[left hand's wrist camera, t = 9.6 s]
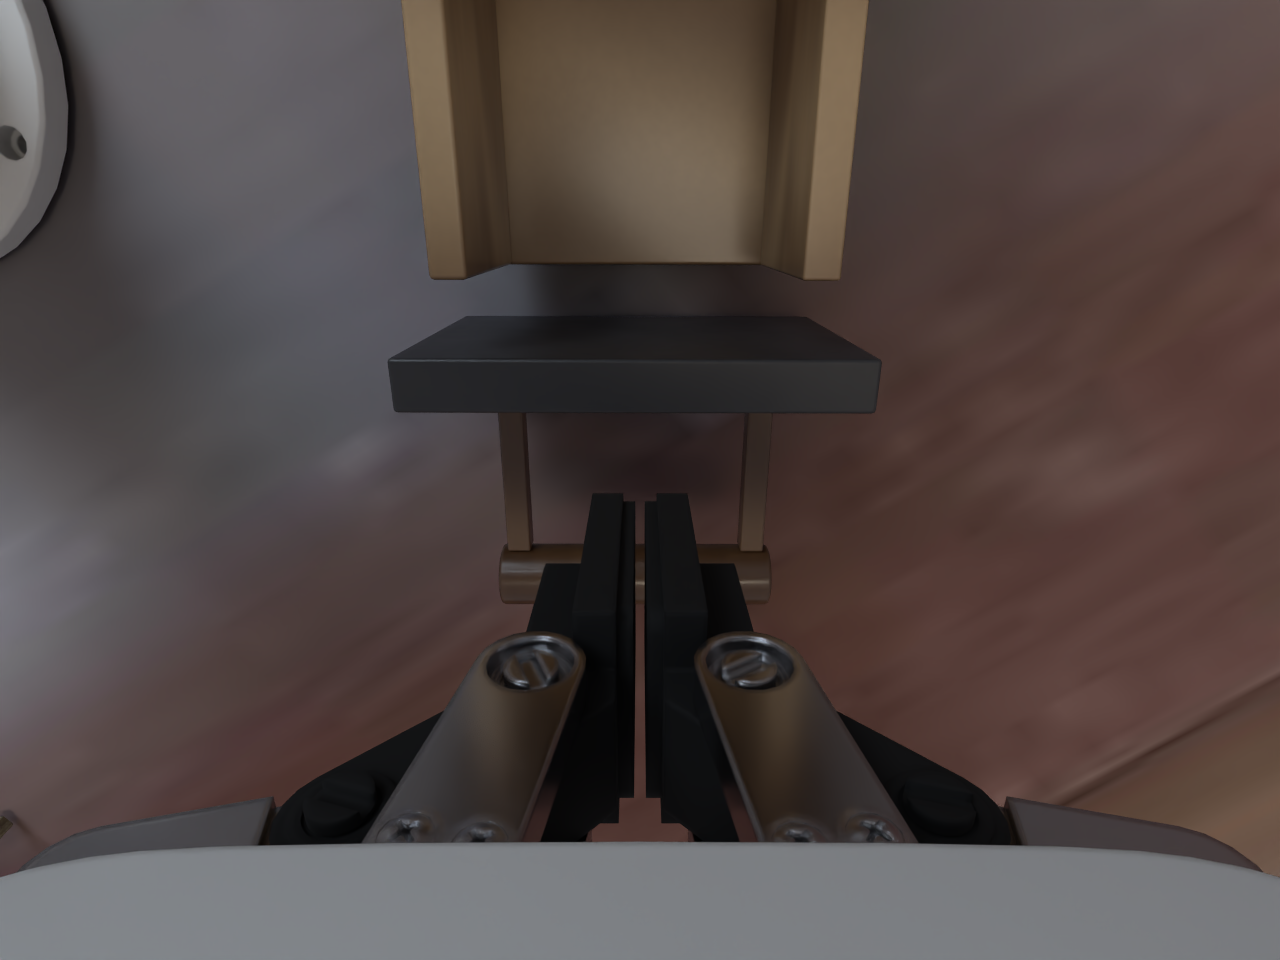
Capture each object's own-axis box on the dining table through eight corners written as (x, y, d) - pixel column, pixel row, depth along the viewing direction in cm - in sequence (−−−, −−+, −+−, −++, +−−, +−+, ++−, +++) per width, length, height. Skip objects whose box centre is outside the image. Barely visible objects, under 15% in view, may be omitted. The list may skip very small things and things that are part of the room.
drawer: (789, 524, 23) (847, 640, 17) (482, 523, 23) (422, 640, 17) (864, -325, 16) (1021, -707, 9) (409, -327, 16) (247, -710, 9)
